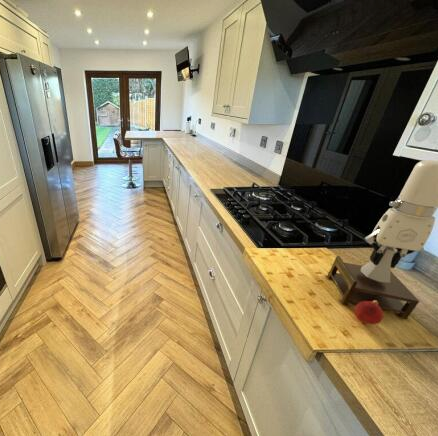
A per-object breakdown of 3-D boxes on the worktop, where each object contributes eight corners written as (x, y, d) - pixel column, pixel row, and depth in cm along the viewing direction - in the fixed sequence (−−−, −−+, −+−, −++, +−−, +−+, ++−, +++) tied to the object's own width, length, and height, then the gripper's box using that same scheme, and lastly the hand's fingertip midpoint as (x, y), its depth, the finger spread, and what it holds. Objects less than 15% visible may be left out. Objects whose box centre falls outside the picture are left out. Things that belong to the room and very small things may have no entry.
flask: (384, 272, 75) (400, 245, 70) (394, 286, 69) (412, 258, 64) (356, 265, 77) (370, 239, 73) (364, 278, 71) (379, 251, 67)
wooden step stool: (381, 287, 80) (394, 266, 76) (406, 319, 68) (423, 295, 64) (327, 276, 85) (336, 255, 81) (342, 304, 73) (354, 281, 69)
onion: (371, 334, 63) (386, 313, 60) (346, 319, 67) (358, 298, 64) (379, 324, 66) (393, 303, 63) (354, 311, 70) (366, 290, 67)
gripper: (383, 208, 62) (354, 264, 70) (465, 219, 57) (424, 278, 65) (369, 199, 68) (344, 251, 76) (442, 207, 64) (407, 262, 72)
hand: (381, 263), depth 71 cm, fingers closed on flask, 3 cm apart
